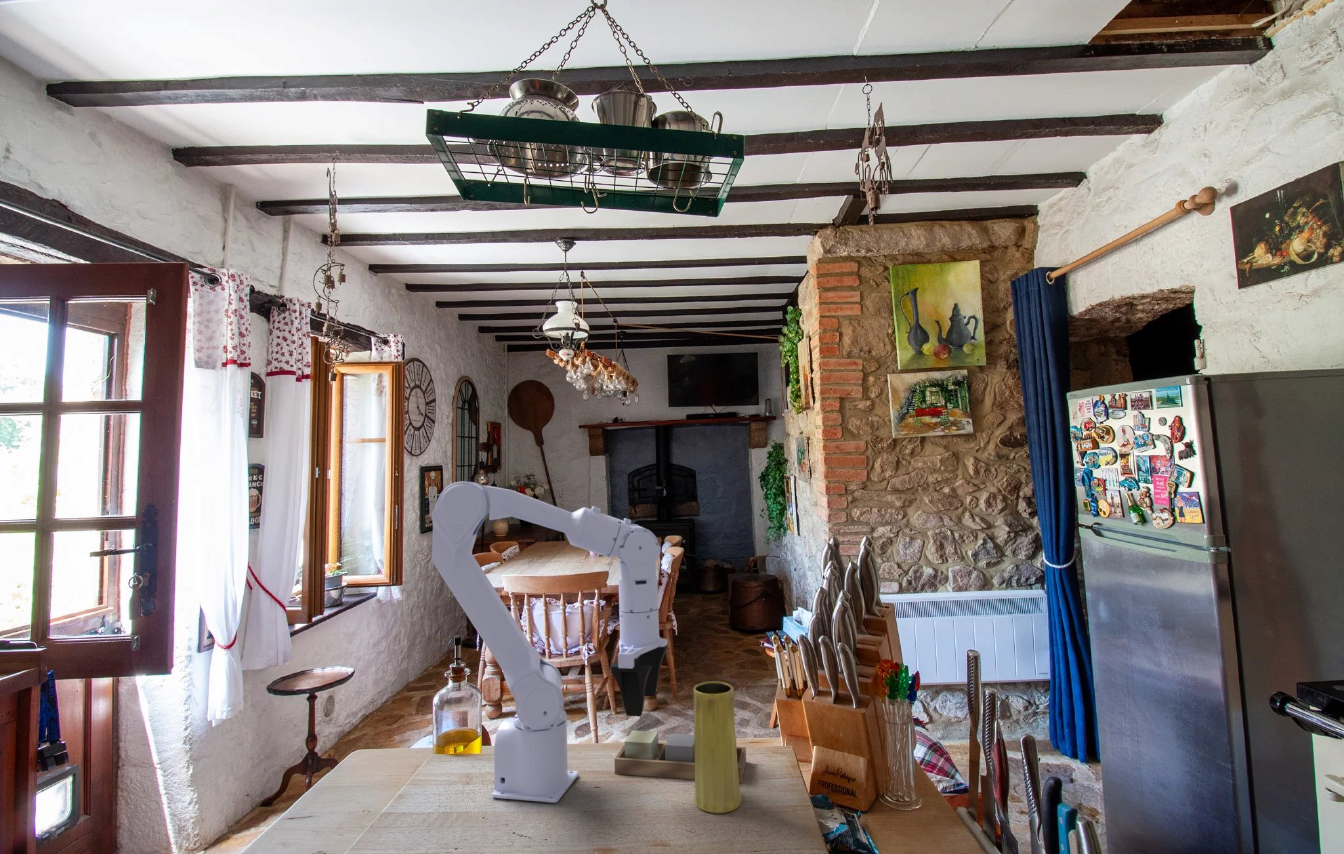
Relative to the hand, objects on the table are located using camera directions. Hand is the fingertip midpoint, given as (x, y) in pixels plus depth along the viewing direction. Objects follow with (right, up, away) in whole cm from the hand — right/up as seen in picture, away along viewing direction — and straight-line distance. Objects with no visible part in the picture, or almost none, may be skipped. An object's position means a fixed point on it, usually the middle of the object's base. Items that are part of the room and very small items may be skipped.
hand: (641, 704), depth 88 cm
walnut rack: (+6, -9, 0) cm, 11 cm away
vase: (+10, -8, -9) cm, 16 cm away
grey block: (+6, -9, 0) cm, 11 cm away
